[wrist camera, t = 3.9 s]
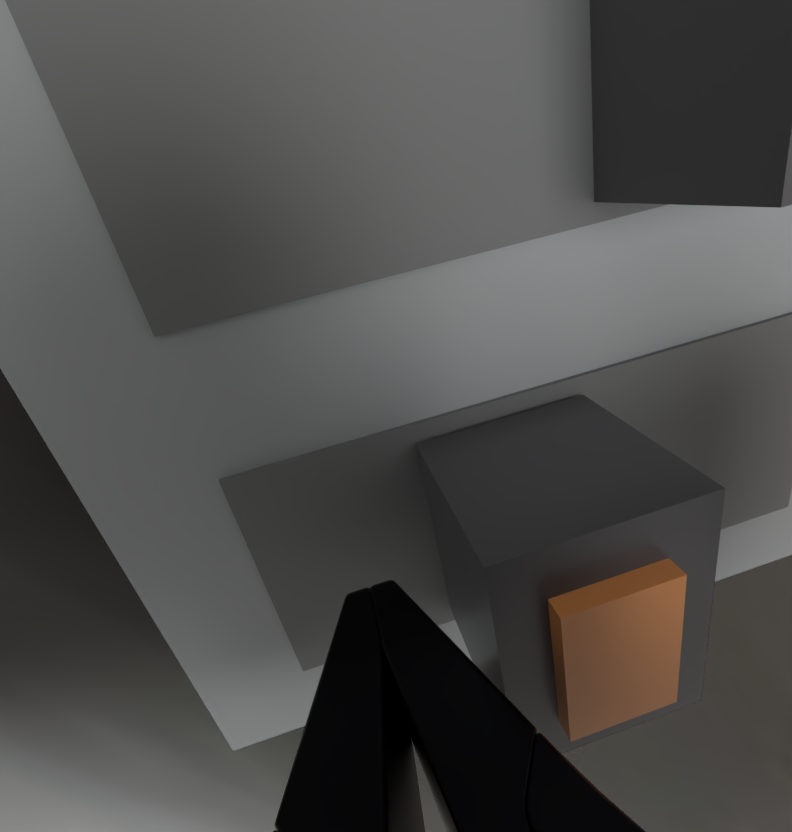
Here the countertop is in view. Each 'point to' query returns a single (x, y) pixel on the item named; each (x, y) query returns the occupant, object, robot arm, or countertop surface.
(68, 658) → the countertop surface
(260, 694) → the panel
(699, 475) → the block
